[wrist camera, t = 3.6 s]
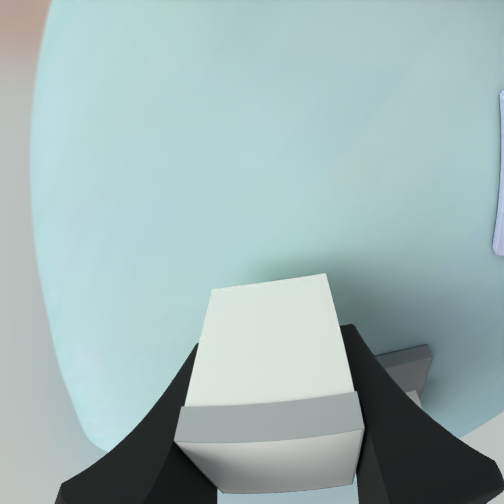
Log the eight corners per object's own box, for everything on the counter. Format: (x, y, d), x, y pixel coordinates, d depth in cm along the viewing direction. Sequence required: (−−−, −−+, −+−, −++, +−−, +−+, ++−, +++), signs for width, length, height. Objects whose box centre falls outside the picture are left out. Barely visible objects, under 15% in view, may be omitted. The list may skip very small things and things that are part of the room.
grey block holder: (426, 344, 15) (451, 398, 12) (401, 427, 20) (412, 468, 17) (202, 377, 17) (191, 436, 14) (240, 449, 22) (237, 492, 18)
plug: (326, 271, 11) (364, 428, 5) (331, 352, 13) (352, 484, 7) (210, 288, 11) (173, 440, 6) (236, 363, 13) (222, 493, 8)
